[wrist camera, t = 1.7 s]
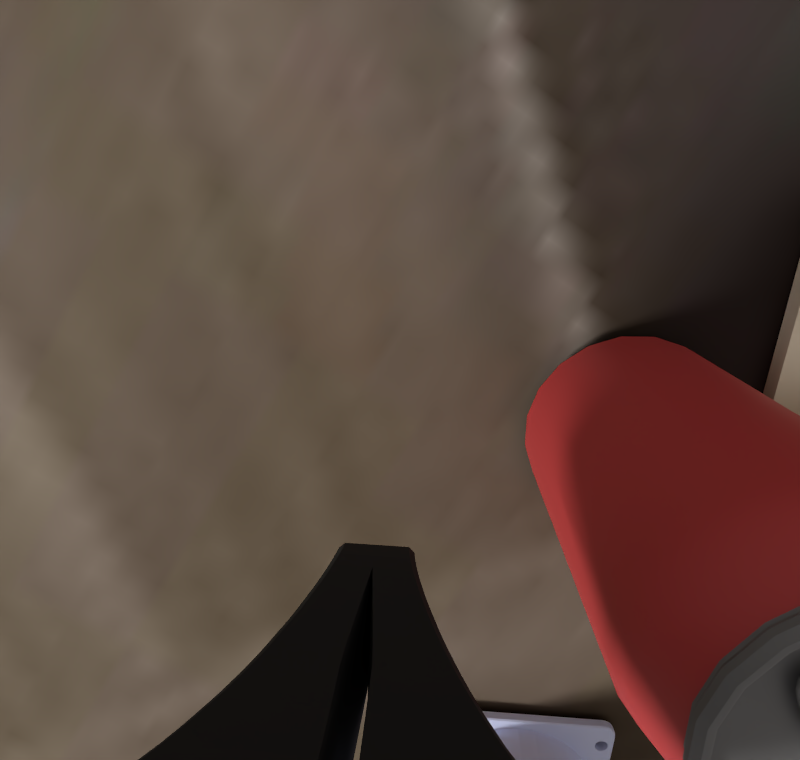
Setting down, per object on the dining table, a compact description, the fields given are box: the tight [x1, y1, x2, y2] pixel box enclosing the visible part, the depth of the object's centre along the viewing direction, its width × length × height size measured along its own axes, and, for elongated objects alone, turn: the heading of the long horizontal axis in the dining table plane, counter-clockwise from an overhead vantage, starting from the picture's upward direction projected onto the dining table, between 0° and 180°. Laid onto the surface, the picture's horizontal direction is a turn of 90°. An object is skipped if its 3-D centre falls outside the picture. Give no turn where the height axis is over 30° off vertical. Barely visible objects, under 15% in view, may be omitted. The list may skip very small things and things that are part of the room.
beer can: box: [525, 336, 800, 760], centre depth 14 cm, size 7×7×12 cm
